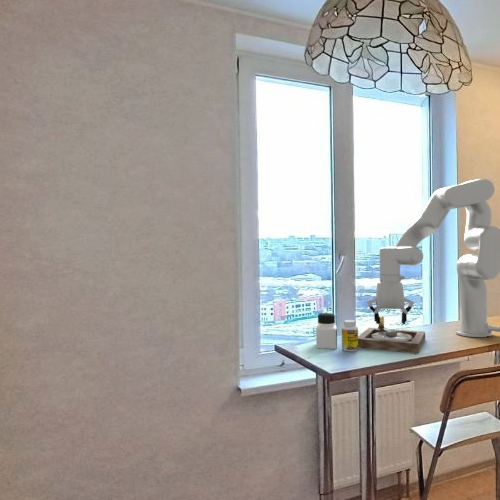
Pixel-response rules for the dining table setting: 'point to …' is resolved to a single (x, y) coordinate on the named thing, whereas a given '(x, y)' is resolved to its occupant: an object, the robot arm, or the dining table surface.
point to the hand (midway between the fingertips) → (390, 323)
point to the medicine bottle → (326, 331)
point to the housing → (392, 341)
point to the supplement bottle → (349, 336)
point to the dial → (390, 333)
